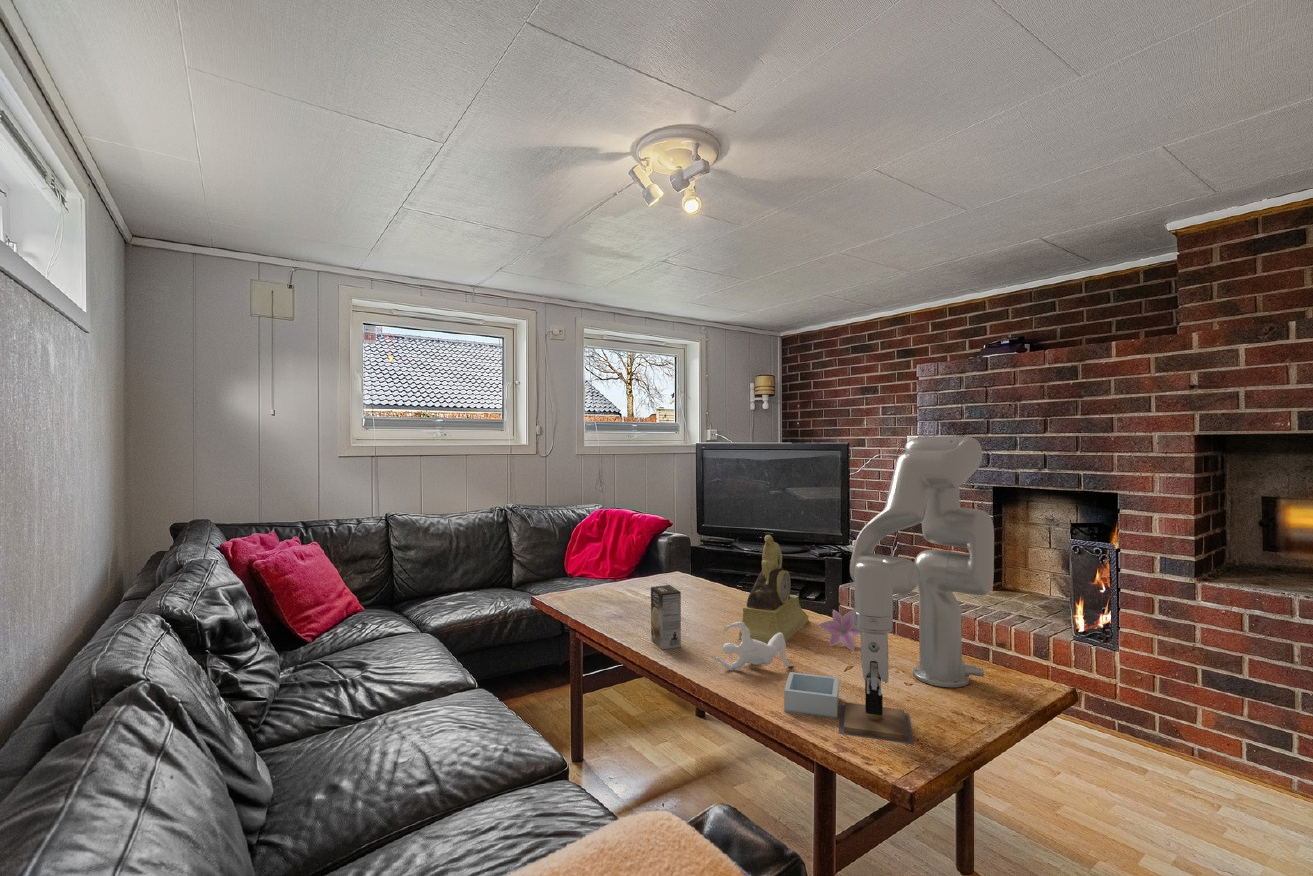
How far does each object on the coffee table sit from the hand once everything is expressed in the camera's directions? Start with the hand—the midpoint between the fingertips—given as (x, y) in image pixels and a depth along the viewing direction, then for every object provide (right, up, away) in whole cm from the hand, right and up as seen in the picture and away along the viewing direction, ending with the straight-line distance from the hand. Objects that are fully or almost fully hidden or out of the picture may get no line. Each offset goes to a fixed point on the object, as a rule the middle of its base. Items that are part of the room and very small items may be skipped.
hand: (873, 704), depth 125 cm
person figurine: (-19, -5, +32) cm, 37 cm away
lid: (0, -4, 0) cm, 4 cm away
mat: (0, -4, 0) cm, 4 cm away
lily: (+9, -5, +50) cm, 51 cm away
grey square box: (-10, -5, +9) cm, 15 cm away
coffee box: (-42, -5, +52) cm, 67 cm away
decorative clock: (-8, -5, +64) cm, 65 cm away
